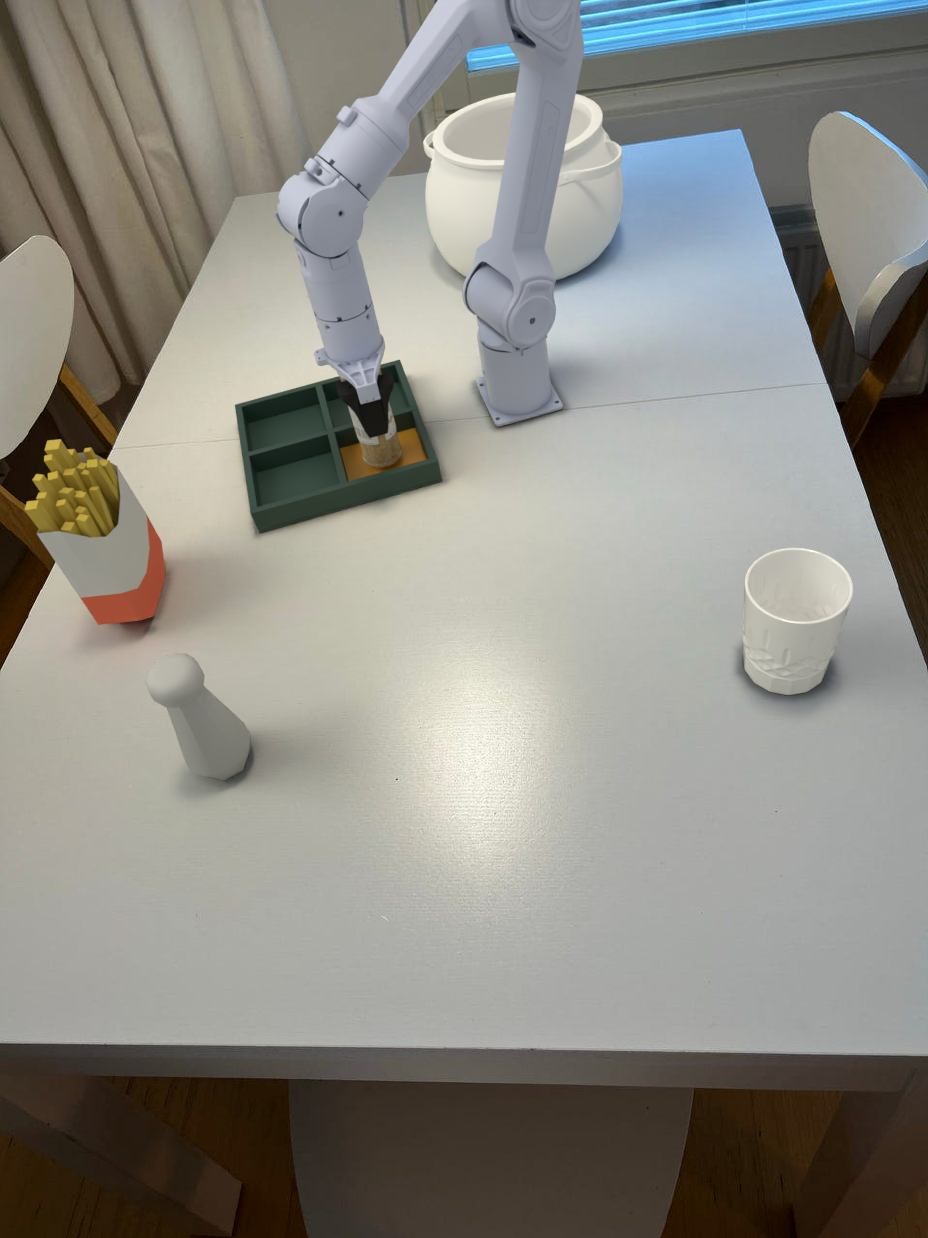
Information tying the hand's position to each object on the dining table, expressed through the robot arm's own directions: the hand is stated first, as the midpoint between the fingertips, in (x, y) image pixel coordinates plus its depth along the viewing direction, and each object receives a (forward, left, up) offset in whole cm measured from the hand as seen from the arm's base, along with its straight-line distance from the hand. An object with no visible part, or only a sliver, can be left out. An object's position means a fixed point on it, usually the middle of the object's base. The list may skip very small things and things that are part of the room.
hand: (373, 420), depth 100 cm
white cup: (+40, +27, -6) cm, 49 cm away
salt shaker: (+33, -21, -6) cm, 40 cm away
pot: (-38, +28, -6) cm, 48 cm away
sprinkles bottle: (0, 0, -5) cm, 5 cm away
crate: (-5, -5, -6) cm, 9 cm away
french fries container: (+10, -28, -6) cm, 30 cm away
